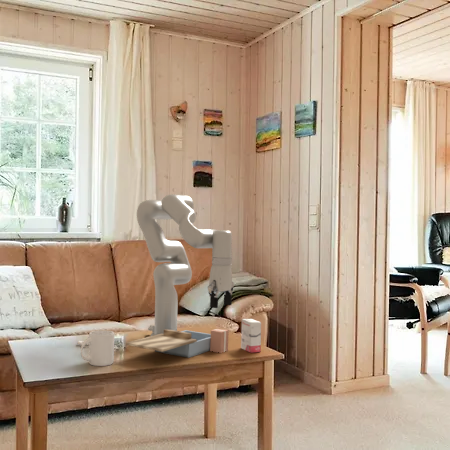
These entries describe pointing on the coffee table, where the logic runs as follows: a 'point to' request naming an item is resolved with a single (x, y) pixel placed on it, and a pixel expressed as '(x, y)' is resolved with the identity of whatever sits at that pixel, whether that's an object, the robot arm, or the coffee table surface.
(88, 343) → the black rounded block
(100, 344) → the mug
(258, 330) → the ink box
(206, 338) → the blue open box
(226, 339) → the parcel
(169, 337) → the lid
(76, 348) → the coffee table surface
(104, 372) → the coffee table surface
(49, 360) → the coffee table surface
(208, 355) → the coffee table surface
